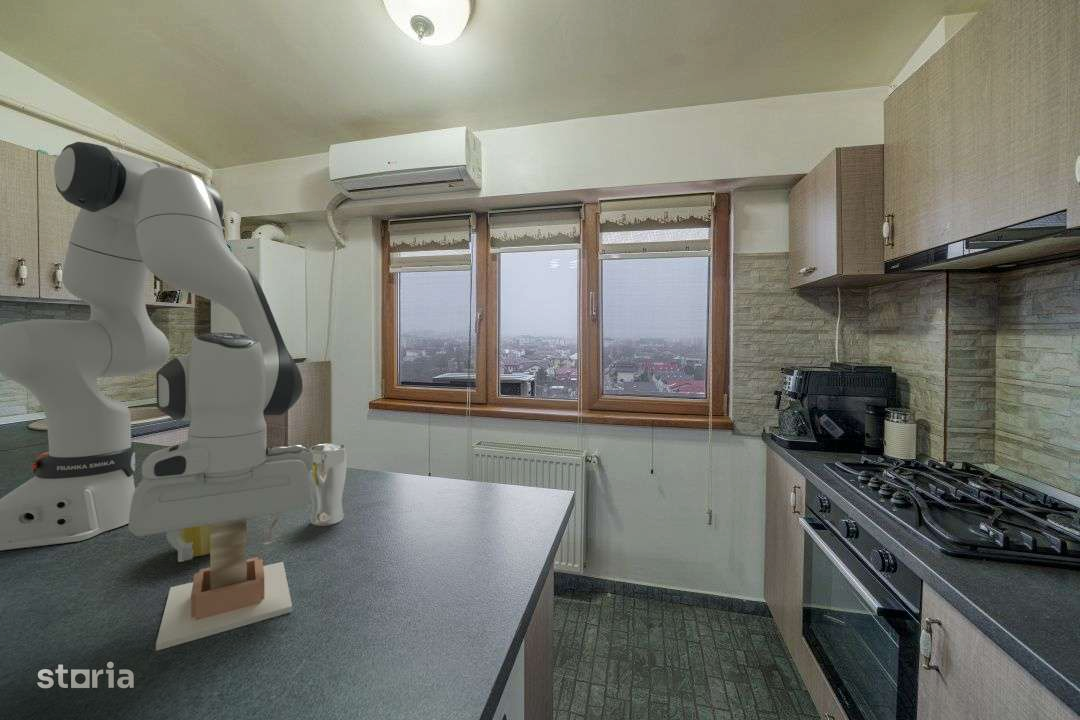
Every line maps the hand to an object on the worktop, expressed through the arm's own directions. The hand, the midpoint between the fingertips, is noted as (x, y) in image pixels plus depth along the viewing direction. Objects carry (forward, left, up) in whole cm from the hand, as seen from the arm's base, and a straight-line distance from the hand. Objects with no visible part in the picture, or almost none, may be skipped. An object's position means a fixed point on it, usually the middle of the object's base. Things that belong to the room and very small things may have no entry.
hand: (229, 550), depth 61 cm
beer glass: (+16, +23, -8) cm, 29 cm away
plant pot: (-4, +21, -8) cm, 23 cm away
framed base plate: (0, 0, -7) cm, 7 cm away
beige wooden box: (0, 0, -7) cm, 7 cm away
